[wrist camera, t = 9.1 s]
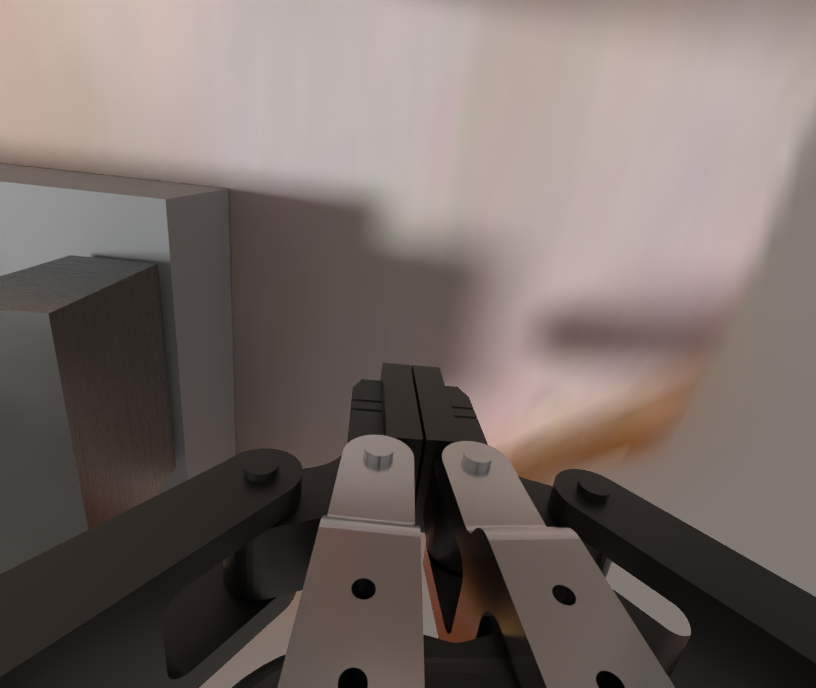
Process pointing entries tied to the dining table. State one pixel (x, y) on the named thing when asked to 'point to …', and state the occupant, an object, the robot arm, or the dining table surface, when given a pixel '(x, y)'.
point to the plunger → (79, 399)
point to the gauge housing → (178, 273)
